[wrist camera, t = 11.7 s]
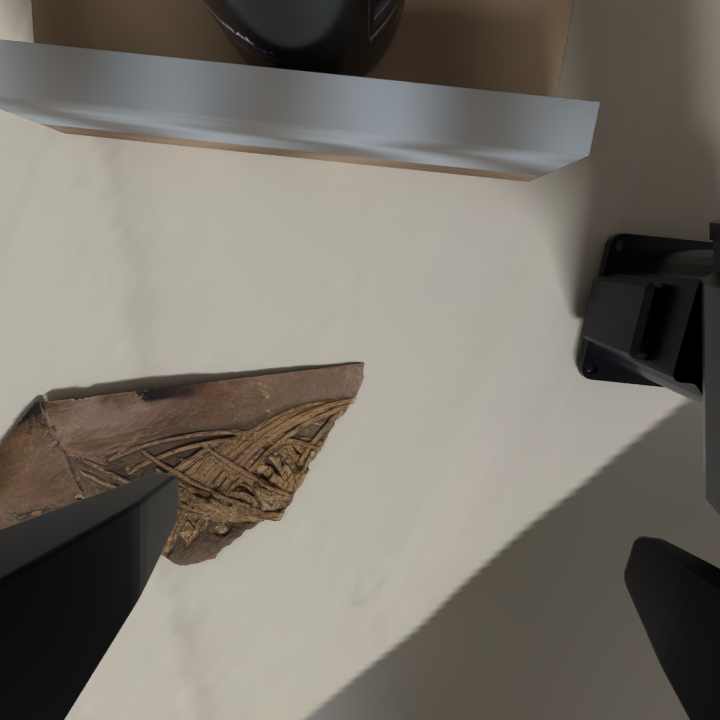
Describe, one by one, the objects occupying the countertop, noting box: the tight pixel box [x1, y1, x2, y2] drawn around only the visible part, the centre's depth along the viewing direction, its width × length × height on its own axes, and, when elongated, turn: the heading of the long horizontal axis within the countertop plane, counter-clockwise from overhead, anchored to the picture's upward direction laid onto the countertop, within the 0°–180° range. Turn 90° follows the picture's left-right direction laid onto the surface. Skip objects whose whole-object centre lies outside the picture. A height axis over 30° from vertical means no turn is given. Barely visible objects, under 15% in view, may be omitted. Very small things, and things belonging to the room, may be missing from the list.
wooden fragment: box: [0, 363, 364, 565], centre depth 23 cm, size 26×11×1 cm, turn 111°
